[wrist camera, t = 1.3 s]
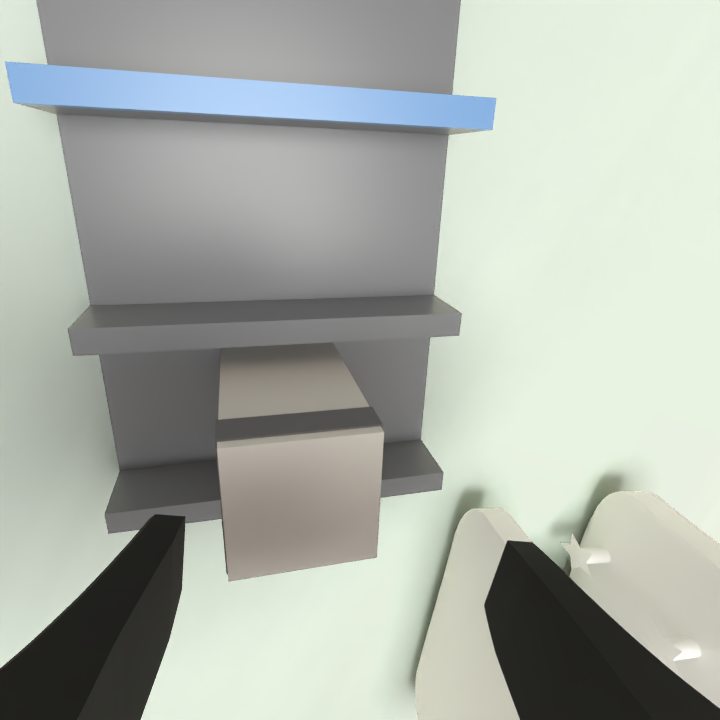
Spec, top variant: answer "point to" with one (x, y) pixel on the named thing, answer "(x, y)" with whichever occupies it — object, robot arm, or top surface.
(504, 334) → the top surface
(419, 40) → the grey slotted rack
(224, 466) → the beige block
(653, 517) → the cable organizer
